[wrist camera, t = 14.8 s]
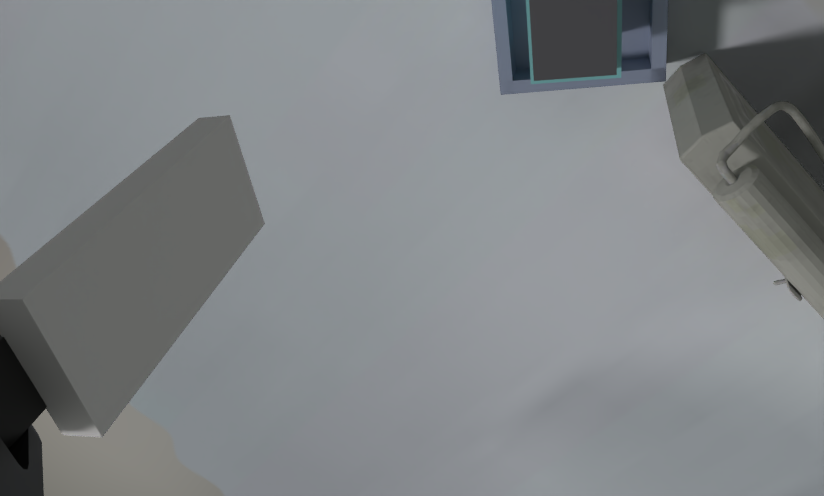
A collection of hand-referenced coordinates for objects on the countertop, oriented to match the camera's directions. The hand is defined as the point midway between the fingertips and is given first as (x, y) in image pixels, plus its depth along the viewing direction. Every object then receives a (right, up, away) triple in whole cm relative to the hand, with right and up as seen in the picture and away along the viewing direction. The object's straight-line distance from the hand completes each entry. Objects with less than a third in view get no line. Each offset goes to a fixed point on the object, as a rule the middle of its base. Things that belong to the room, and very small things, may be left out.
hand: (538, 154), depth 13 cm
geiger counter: (+23, +2, +31) cm, 39 cm away
